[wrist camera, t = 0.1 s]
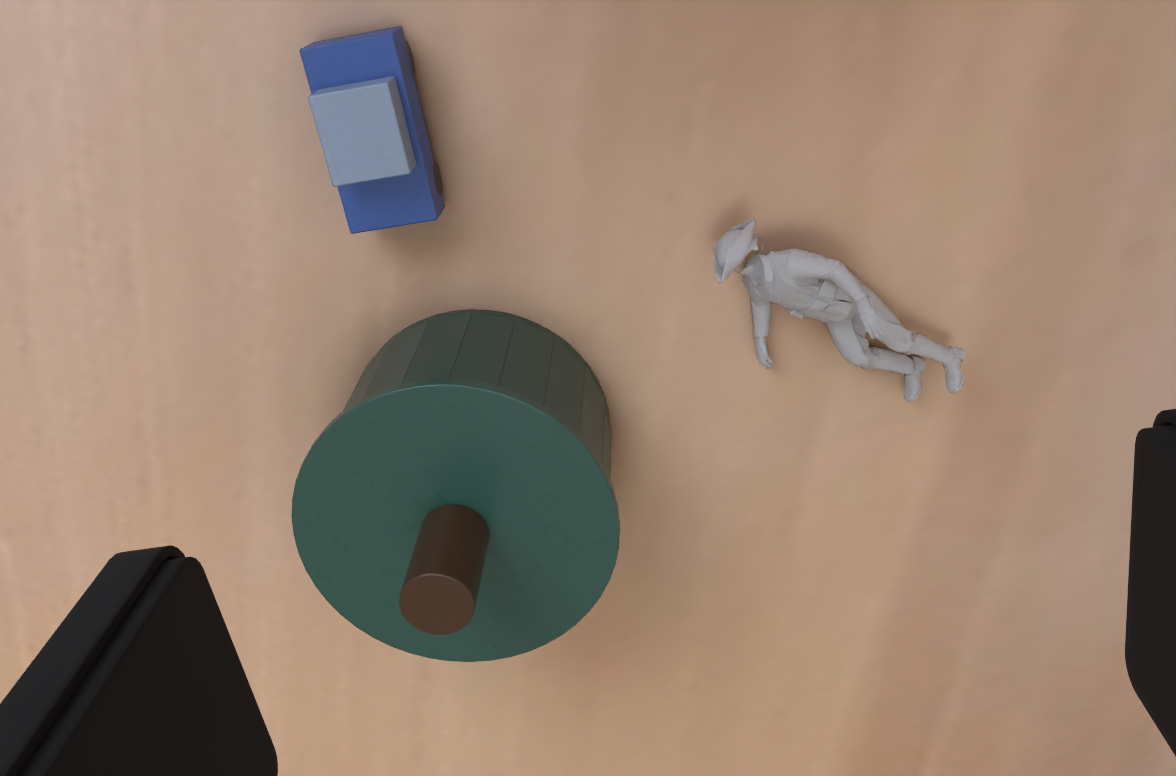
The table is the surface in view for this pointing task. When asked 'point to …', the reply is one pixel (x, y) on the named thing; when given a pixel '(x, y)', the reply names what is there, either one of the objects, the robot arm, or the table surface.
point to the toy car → (373, 129)
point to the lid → (456, 520)
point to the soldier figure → (830, 308)
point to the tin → (496, 366)
